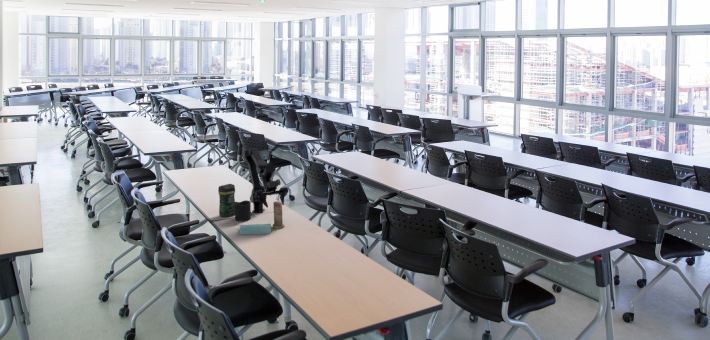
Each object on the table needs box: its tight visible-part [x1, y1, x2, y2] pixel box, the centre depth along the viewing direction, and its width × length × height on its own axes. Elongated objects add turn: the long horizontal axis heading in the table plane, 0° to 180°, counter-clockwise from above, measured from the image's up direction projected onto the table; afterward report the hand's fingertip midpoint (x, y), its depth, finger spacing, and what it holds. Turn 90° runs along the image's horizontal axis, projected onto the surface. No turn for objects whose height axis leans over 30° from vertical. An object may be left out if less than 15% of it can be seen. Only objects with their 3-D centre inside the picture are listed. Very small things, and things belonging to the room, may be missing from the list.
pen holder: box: [234, 200, 252, 222], centre depth 312 cm, size 9×9×10 cm
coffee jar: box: [217, 183, 236, 218], centre depth 319 cm, size 10×8×19 cm
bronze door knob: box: [272, 200, 285, 230], centre depth 298 cm, size 6×6×14 cm
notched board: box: [239, 223, 272, 236], centre depth 293 cm, size 12×16×4 cm
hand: (275, 206), depth 300 cm, fingers open, 9 cm apart
